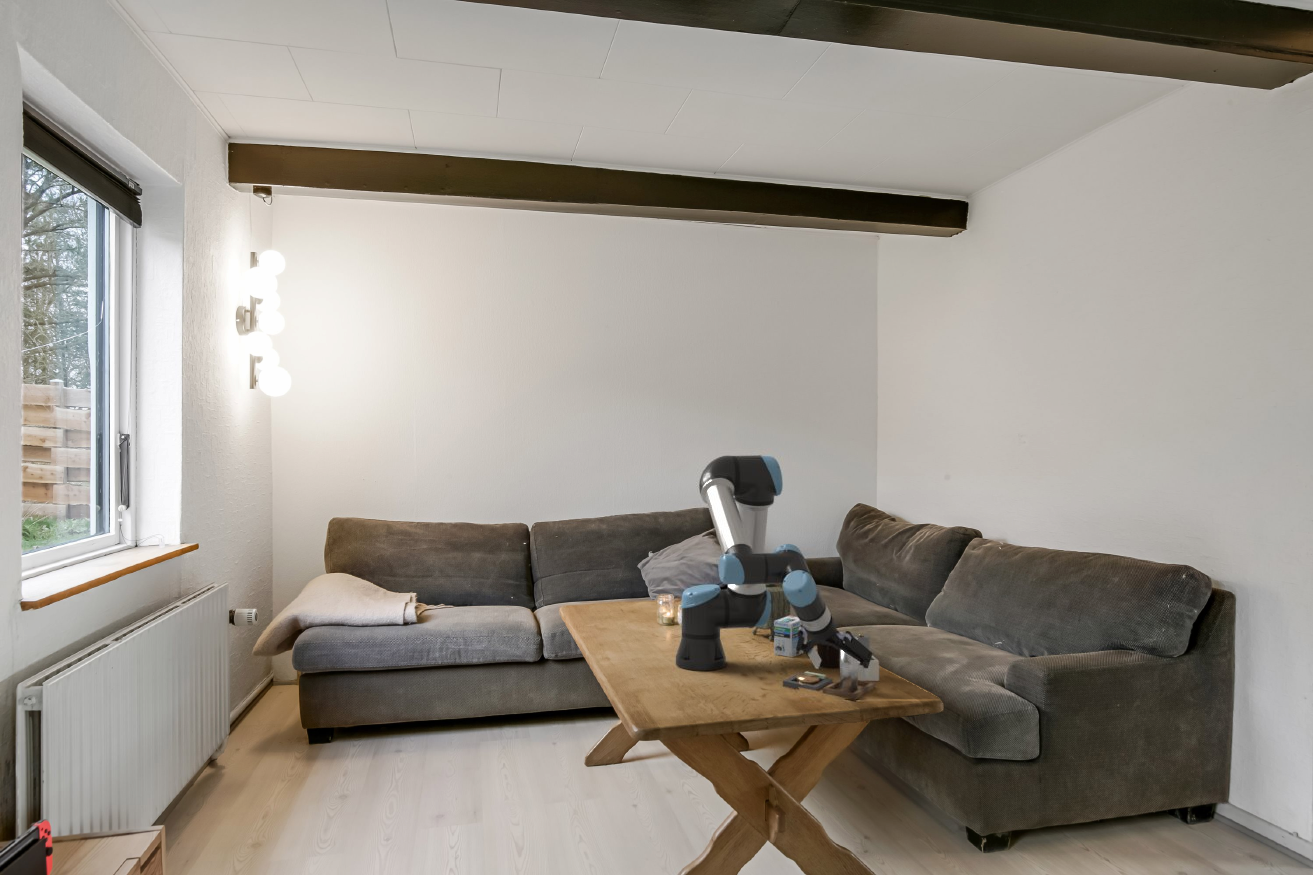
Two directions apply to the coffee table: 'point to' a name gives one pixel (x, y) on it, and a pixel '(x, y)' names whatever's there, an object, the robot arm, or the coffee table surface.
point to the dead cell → (863, 640)
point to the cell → (848, 673)
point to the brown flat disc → (808, 679)
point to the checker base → (793, 683)
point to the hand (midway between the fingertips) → (842, 668)
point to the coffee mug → (829, 656)
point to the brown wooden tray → (862, 689)
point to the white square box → (873, 671)
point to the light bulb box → (787, 636)
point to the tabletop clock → (775, 608)
